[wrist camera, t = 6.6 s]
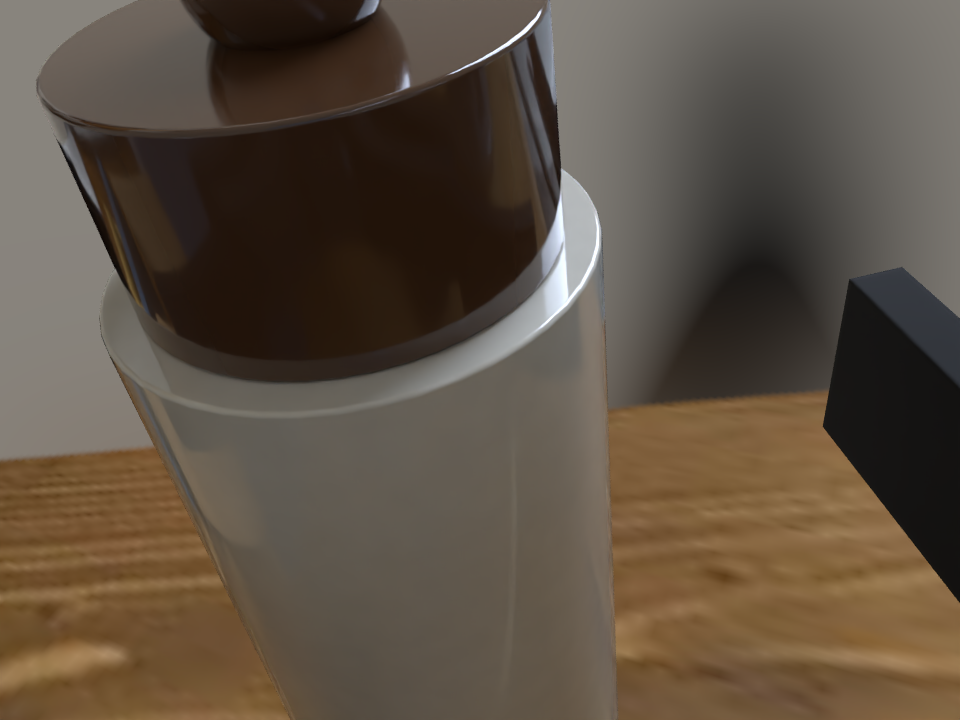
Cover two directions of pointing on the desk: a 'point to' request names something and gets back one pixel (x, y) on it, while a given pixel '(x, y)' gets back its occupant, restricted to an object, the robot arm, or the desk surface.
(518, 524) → the salt mill
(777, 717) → the desk surface
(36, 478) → the desk surface
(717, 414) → the desk surface
